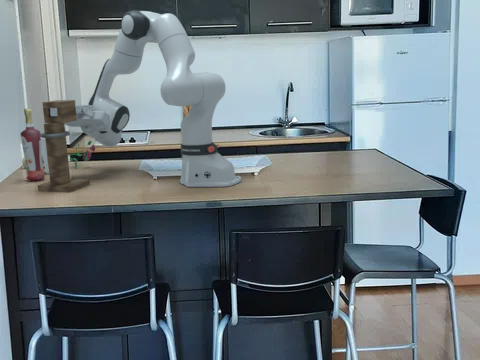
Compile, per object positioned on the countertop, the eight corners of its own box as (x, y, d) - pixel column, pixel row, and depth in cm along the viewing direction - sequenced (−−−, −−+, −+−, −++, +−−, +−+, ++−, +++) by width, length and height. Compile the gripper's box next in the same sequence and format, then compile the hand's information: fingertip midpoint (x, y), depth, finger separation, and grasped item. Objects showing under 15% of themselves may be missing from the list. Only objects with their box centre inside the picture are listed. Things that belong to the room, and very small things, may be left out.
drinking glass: (55, 174, 248) (51, 138, 245) (40, 174, 249) (36, 138, 246) (63, 171, 255) (59, 135, 251) (49, 171, 256) (45, 136, 253)
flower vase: (36, 183, 270) (106, 165, 263) (19, 180, 259) (93, 162, 251) (32, 157, 272) (102, 139, 264) (15, 154, 260) (88, 134, 252)
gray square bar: (93, 112, 234) (93, 104, 234) (57, 116, 214) (56, 107, 214) (87, 112, 235) (86, 105, 235) (50, 116, 215) (50, 107, 215)
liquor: (49, 179, 238) (41, 108, 232) (32, 183, 233) (23, 110, 227) (39, 177, 243) (31, 107, 237) (22, 180, 238) (13, 109, 232)
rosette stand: (90, 184, 225) (81, 99, 218) (68, 193, 213) (59, 103, 206) (59, 183, 230) (49, 100, 223) (36, 191, 218) (25, 103, 211)
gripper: (72, 117, 241) (51, 102, 229) (116, 117, 234) (96, 102, 221) (68, 132, 239) (47, 118, 227) (113, 132, 232) (93, 117, 220)
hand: (72, 110), depth 224 cm, fingers open, 8 cm apart
